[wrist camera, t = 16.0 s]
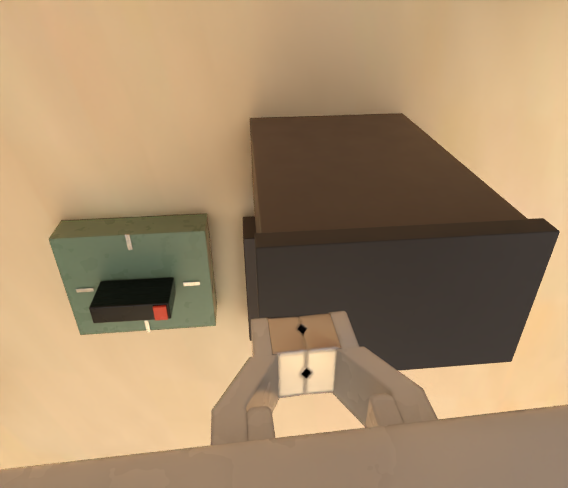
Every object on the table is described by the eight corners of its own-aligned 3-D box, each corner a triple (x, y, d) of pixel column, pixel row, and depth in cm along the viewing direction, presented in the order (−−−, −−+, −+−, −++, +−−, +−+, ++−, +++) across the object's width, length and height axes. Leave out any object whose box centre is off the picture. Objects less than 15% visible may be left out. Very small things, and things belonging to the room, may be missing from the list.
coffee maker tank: (250, 204, 38) (261, 381, 21) (245, 114, 34) (255, 247, 17) (394, 197, 38) (511, 362, 22) (407, 109, 34) (560, 231, 18)
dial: (104, 295, 37) (92, 326, 34) (100, 280, 37) (87, 309, 33) (176, 291, 38) (170, 321, 35) (173, 276, 37) (168, 305, 34)
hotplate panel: (90, 313, 42) (80, 337, 39) (61, 219, 37) (47, 238, 34) (217, 305, 43) (215, 327, 40) (206, 212, 38) (204, 230, 35)
